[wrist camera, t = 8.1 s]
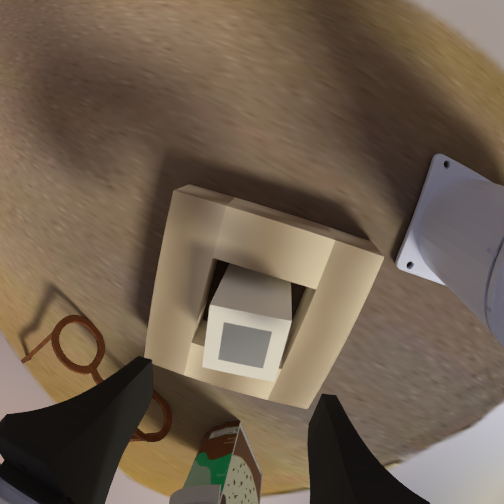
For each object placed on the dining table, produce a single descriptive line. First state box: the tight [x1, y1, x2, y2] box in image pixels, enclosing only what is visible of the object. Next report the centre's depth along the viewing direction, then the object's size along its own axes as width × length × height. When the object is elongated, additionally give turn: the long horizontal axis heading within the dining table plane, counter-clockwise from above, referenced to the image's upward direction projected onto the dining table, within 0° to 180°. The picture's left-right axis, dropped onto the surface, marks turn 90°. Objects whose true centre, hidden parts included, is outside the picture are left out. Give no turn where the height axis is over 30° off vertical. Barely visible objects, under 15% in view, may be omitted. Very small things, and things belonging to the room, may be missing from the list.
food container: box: [169, 421, 262, 504], centre depth 23 cm, size 12×6×10 cm, turn 13°
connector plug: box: [202, 263, 292, 382], centre depth 19 cm, size 4×4×6 cm
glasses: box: [21, 315, 172, 442], centre depth 25 cm, size 13×13×5 cm
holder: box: [144, 184, 384, 409], centre depth 20 cm, size 12×12×3 cm
